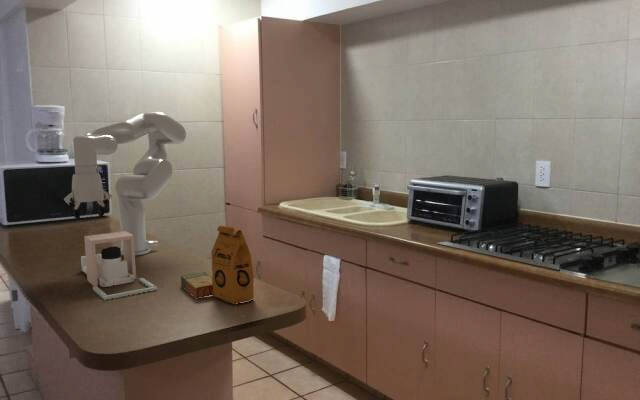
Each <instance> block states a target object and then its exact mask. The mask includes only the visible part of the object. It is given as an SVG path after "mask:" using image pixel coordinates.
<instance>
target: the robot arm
mask: <svg viewBox="0 0 640 400" xmlns="http://www.w3.org/2000/svg"><path fill="white" fill-rule="evenodd" d="M146 135H147V137H148V149H147V151H146V152H145V153H144V155H142V156H141V158H140V159H139V160H138V161H137V162H136V164H135V165H134V167H133V169H132V170H133V171H132V172H133V174H126V175H121V176H120V177H118V178H117V180H116V182H115V187H114V188H115V193H116V197H117V202H118V207H119V209H118V210H119V222H120V232H123V231H126V232H128V233H130V234H132V235H134V249H135V257H136V256H141V255H142V256H143V255H146V254H149V253H150V252H151V249H152V248H151V247H156V246H159V241H158V240H147V237H146V236H147V234H146V215H145V214H146V213H145V205H144V204H143V202H142V200H144V201H145V200H147V201H149V200H153V199H155V197H157V196H158V195H159V194H160V193H161V191H162V190H163V188H165V187H166V186H167V184H168V182H169V181H170V180H171V177H172V175H173V166H172V163H171V162H170V161H169V160H168V154H167V151H166V147H165V145H180V144H182V143H183V142H185V140H186V137H187V132H186V129H185V127H184V126H183V124H181V123H180V122H178V121H176V120H175V119H174V118H172V117H171V116H169V115H168V114H166V113H164V112H160V111H146V112H140V113H137V114H135V115H133V116H131V117H129V118H127V119H125V120H123V121H121V122H117V123H114V124H110V125H107V126H104V127H100V128H97V129H93V130H92V131H90V132H87V133H85V134H84V135H78V136H74V137H73V139H72V144H73V145H72V147H73V159H74V174H72V177H71V192H70V193H68V194H67V196H65V197H64V198H63V200H64V201H65V203H67V204H68V206H70V207H71V208H72V209H73V216H74V219H76V221H81V212H80V211H81V210H80V209H79V207H80V205H81V203H87V202H88V203H90V202H97V204H98V207H97V211H98V218H101V219H103V218H104V216H105V209H104V208H105V207H106V205H107V204H108V202H109V201H110V199H112V194H110V193H109V192H108V191H106V190H104V188H103V187H104V186H103V181H102V179H101V178H102V177H101V174H100V173H99V171H102V166H100V165H98V157H97V156H110V155H112V154H114V153H115V152H116V151H117V149H118V145H123V144H129V143H131V142H134V141H136V140H138V139H140V138H142V137H143V136H146ZM104 197H105V198H104ZM71 198H72V201H74V202H72V201H71ZM120 243H121V248H120V249H121V256H123V257H124V252H123V240H122V241H120Z"/></svg>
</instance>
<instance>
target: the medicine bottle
mask: <svg viewBox="0 0 640 400" xmlns="http://www.w3.org/2000/svg"><path fill="white" fill-rule="evenodd" d="M121 249H122V248H121V247H120V246H106V247H104V248H102V249H101V251H100V254H102V262H98V263H96V266H97V277H101V278H102V279H104V280H105V281H113V280H117V279H122V278H128V266H127V261H124V259H122V255H121Z"/></svg>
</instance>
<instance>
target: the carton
mask: <svg viewBox="0 0 640 400" xmlns="http://www.w3.org/2000/svg"><path fill="white" fill-rule="evenodd" d="M180 285H181V286H182V287H183V288H182V289H184V288H185V289H186V290H187V291H188V292H189V293H190V294H192V295H193V296H194V297H195V298H199V297H204V296H209V295H213V283H212V276H211V275H209V274H208V273H207V272H205V271H200V272H195V273H188V274H184V275H180ZM185 289H184V290H185ZM186 290H185V291H186ZM187 291H186V292H187ZM188 292H187V293H188ZM189 293H188V294H189ZM190 294H189V295H190ZM193 296H192V297H193ZM194 297H193V298H194ZM195 298H194V299H195Z"/></svg>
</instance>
